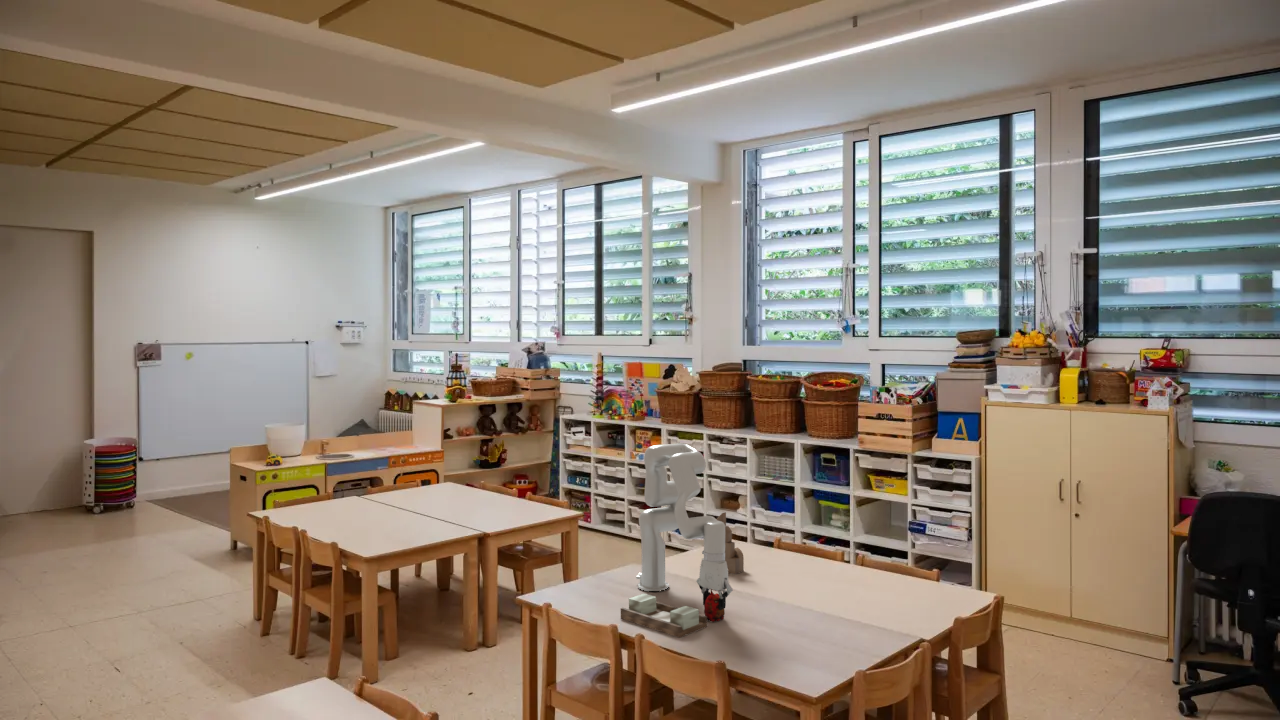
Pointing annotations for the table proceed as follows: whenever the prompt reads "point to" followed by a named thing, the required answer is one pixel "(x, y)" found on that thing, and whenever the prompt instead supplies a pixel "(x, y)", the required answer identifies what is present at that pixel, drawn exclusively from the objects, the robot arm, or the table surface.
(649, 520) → the robot arm
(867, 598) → the table surface
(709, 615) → the red clay folk toy
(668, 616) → the display tray
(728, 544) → the wooden toy
